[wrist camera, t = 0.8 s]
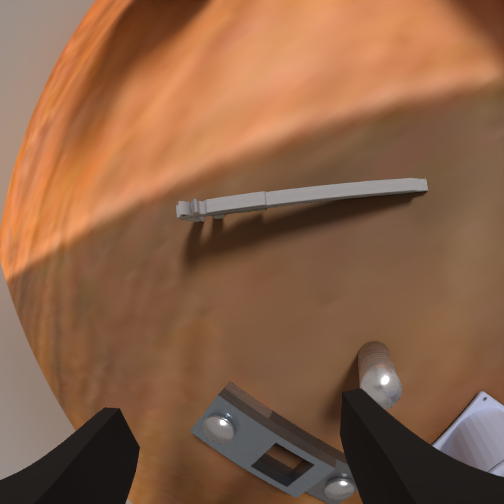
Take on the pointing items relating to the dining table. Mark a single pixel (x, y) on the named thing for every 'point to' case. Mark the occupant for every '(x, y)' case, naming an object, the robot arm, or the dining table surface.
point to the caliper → (294, 197)
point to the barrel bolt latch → (264, 437)
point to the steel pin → (378, 374)
